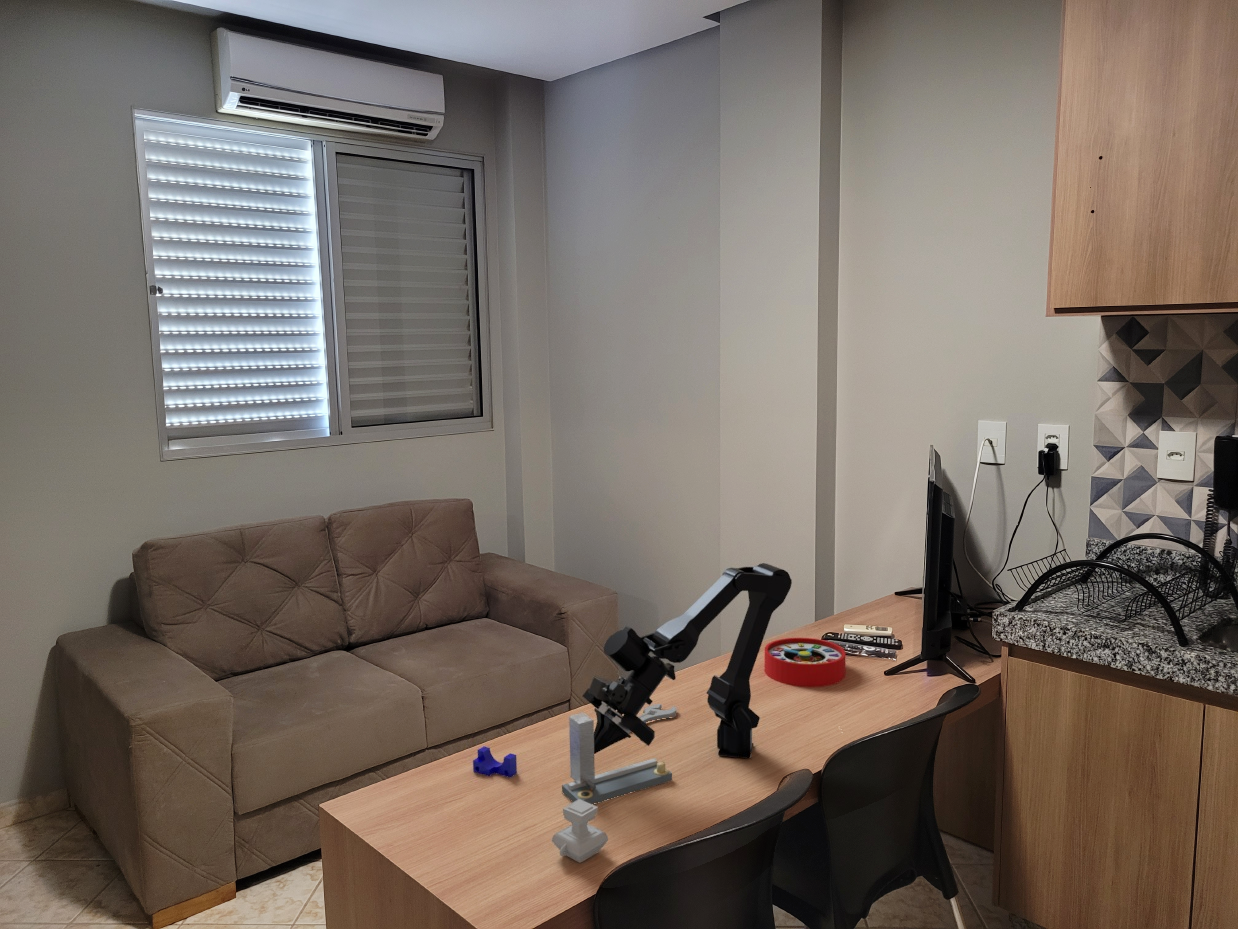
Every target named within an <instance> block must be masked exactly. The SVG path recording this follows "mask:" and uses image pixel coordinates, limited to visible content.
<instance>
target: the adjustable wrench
mask: <svg viewBox="0 0 1238 929" xmlns="http://www.w3.org/2000/svg"><path fill="white" fill-rule="evenodd" d="M661 708H662V703H655V704H652V705H651V704H650V705H649V706H647V707H644V710H643V711H642V714H641V715H639V716H637V717H638V718H640V719H641V720H642V721H643V722H644V723H646V722H648V721H652V720H657V719H662V718H669V717H673V718H675V717H676V716H677V706H675V705H672V706H671V707H670V708H669V709H663V708H662V709H661ZM660 709H661V710H660ZM643 713H644V714H643ZM675 715H676V716H675ZM674 716H675V717H674Z"/></svg>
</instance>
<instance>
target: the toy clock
mask: <svg viewBox="0 0 1238 929" xmlns="http://www.w3.org/2000/svg"><path fill="white" fill-rule="evenodd" d="M763 670H764V673H765V675H766V676H767V677H768V678H770V679H771V680H773V681H774V682H778V683H781V684H784V685H788V686H794V687H801V688H802V687H804V688H805V687H806V688H820V687H827V686H832V685H835V684H838V683H840V682H842V681H843V680H844V679H845V677H846V650H845V649H844V648H843V647H842V646H840V645H839V644H837V643H834V642H831V641H827V640H825V639H819V638H811V637H810V638H809V637H786V638H780V639H776V640H773V641H771V642H769V643H767V644H766V645H765V647H764V668H763Z"/></svg>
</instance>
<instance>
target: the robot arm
mask: <svg viewBox="0 0 1238 929" xmlns="http://www.w3.org/2000/svg"><path fill="white" fill-rule="evenodd" d="M792 584H793V580H792V578H791V576H790V573H789V572H788V571H786V570H785V569H783V568H780V567H777V566H774V565H772V564H769V563H765V562H763V563H759V564H758V565H755V566H741V567H729V568H726V569H724V571H723V572H722V575H721V576H720V577H719V578H718V579H717V580H716V581H715V583H713V584H712V585H711V586H710V587H709V588H708V589H707V590H706V591H705V592H704V593H703V594H702V595H701V596H700V597H699V598H698V599H697V600H696V601H695V602H694V603H693V604H692V605H691V606H690V607H689V608H688V609H687V610H686V611H685V612H684V613H683V614H681V615H679V616H677V617H675V618H673V619H670V620H668V621H667V622H665V623H664V624H662V625H661V626H660V627H658V628H657V629H656V630H655V631H654V632H652V633H649V634H645V635H643V636H640V635H638V634H637V632H636V631H635V630H634V629H633V628H632V627H630V626H629V625H626V626H624V628H623V629H620V630H617V631H616V632H615V633H613V634H611V635H610V636H609V637H608V638H607V640H606V641H605V644H604V646H603V652H604V654H605V655H606V656H607V657H608V658H610V660H612V661H613V662H614V663H615V664H616V665H617V666H619V667H620V668H621V669H622V670H623V671H624V672H630V673H628V675H627V677H626V678H624V677H623V676H621V677H619V678H618V679H617V681H614V680H613V681H612V680H610V679H605V678H602V677H599V676H596V675H595V676H593V678H592V680H591V683H590V685H589V688H587V689H586V691H585V692H584V693H583V695H582V698H583V699H585V700H586V701H587V702H588V703H589V704H591V705H592V706H593V707H594V710H593V711H594V712H595V714H596V715H595V716H596V726H595V728H594V755H595V754H597V753H599V752H601V751H603V750H604V749H606V748H608V747H610V746H612V745H614V744H616V743H618V742H621V741H623V740H625V739H627V738H628V739H630V738H632V736H631V733H632V734H634V735H635V737H637V738H638V740H640V741H641V742H642V743H643V744H645V745H646V746H647V747H649V746H650V745H651V744H652V743H653V741H654V740H655V737H656V735H655V734H656V733H655V732H656V731H655V730H654V729H653V728H652V727H650V726H649V725H648V723H647V724H646V723H644V722H643V721H642V720H641V719H640V718H638V717H639V716H638V714H639V713H640V711H641V710H642V708H643V707H644V706H645V705H646V704H647V705H649V706H651V704H652V703H653V700H652V699H651V696H652V695H653V694H654V692H655V691H656V689H657V688H658V686H659V685H660V684H661V683H662V682H663V680H664V678H665V677H667V678H669V679H671V680H672V681H675V680H676V678H677V677H676V672H675V665H673V664H675V663H676V664H681V663H683V662H685V660H687V659H688V657H689V656H690V655H691V653H692V652H693V651H694V649H695V648H696V647H697V645H698V642H699V638H700V636H701V634H702V632H703V631H704V630H705V629H706V628H707V627H708V626H709V625H710V624H711V623H712V622H713V621H714V620H715V619H716V618H717V617H718V615H719V614H721V613H722V611H723V610H724V609H726V608H727V607H728V606H729V605H730V604H731V603H732V602H733V600H734V599H735V598H737V597H738V596H739V594H741V592H747V594H748V607H747V610H746V612H745V616H744V619H743V621H742V624H741V628H740V630H739V633H738V636H737V639H736V642H735V643H734V647H733V650H732V652H731V656H730V659H729V662H728V664H727V667H726V669H725V671H724V672H723V673H722V674H721V675H720V676H717V675H715V674H714V675H713V676H712V678H711V681H710V686H709V688H708V690H707V691H706V694H707V698H706V699H707V704H708V707H709V708H710V710H712V712H714V716H715V717H716V718H719V719H720V722H719V725H718V727H717V729H716V748H717V749H718V752H717V753H718V754H717V755H718V756H721V757H731V758H739V759H740V758H741V759H750V758H751V757H752V753H753V749H754V743H753V729H756V728H757V727H758V725H759V721H760V716H759V715H758V714H756V712H754V711H753V710H752V709H751V708H750V702H751V697H752V694H751V693H752V692H751V685H750V679H751V675H752V673H753V669H754V667H755V664H756V661H757V658H758V655H759V653H760V650H761V646H762V643H763V641H764V638H765V635H766V632H767V630H768V627H769V624H770V621H771V618H772V615H773V613H774V612H775V610H777V609H778V608H779V607H781V605H782V604H783V603H784V602H785V600H786V598H787V596H788V594H789V593H790V590H791V589H792V588H791V587H792ZM650 653H651V654H652V655H653V656H651V655H650ZM662 659H663V660H662ZM664 660H667V661H669V662H664Z"/></svg>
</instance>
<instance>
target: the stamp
mask: <svg viewBox="0 0 1238 929" xmlns="http://www.w3.org/2000/svg"><path fill="white" fill-rule="evenodd" d="M598 809H599V806H598V805H597V806H596V805H595V804H594V805H592V804H590V803H587V802H585V801H583V800H580V799H578V800H576V801H575V802H571V803H570V804H568V805H567V806H565V807H563V808H562V815H563V818H564V820H566V821H567V822H569V823H571V825H568V826H566V827H565V828H562V830H559V831H558V832H555V833H554V834H553V835H552V839H551V842H552V843H553V844H554V845H555V847H556V848H558V850H559V855H560V856H561V857H565V856H567V857H569V858H570V859H572V860H574V861H575V862H577V863H579V864H581V863H583V862H584V861H586V860H587V859H590V858H591V857H593V856H594V855H596V854H598V853H599V852H600V851H601V850H602V848H603V847H604V846H605V845H606V844H607V842H608V841H609V837H608V834H607V833H606V831H605V832H604V831H603V830H600V828H598V827H597V826H593V825H591V824H589V822H591V821H592V820H594V819H595V818H596V816H597V815H598Z"/></svg>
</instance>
